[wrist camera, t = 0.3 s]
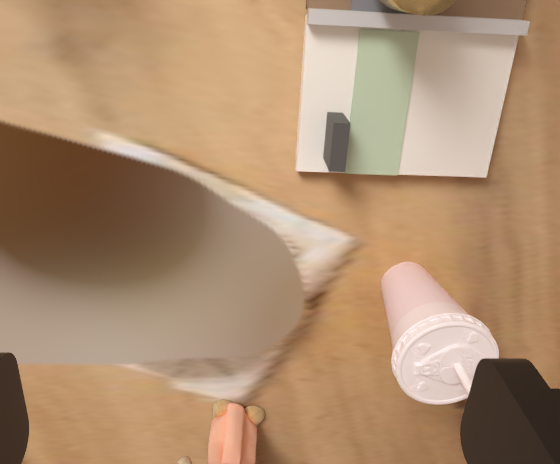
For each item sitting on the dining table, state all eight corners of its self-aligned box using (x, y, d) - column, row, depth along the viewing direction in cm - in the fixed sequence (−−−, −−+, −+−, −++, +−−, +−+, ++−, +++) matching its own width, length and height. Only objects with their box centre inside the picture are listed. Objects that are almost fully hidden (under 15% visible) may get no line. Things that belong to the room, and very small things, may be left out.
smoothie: (444, 313, 42) (529, 455, 30) (364, 322, 42) (414, 469, 30) (447, 241, 40) (542, 364, 27) (361, 250, 40) (416, 378, 27)
